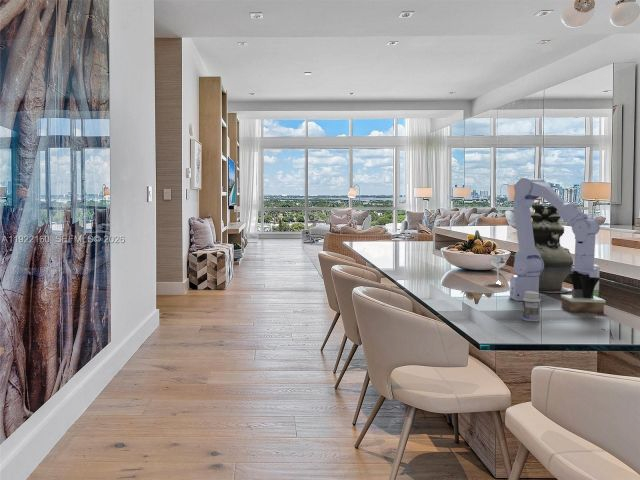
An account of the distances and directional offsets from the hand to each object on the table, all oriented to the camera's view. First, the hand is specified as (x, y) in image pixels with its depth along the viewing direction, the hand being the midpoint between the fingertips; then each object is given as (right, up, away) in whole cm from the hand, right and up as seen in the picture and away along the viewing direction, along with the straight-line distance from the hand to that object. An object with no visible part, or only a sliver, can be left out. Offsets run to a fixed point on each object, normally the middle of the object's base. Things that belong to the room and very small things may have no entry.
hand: (582, 296), depth 165 cm
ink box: (+18, -3, +30) cm, 35 cm away
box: (0, -5, 0) cm, 5 cm away
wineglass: (-7, -1, +58) cm, 58 cm away
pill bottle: (-23, -6, -15) cm, 28 cm away
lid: (0, -1, 0) cm, 1 cm away
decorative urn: (+5, -2, +41) cm, 41 cm away
